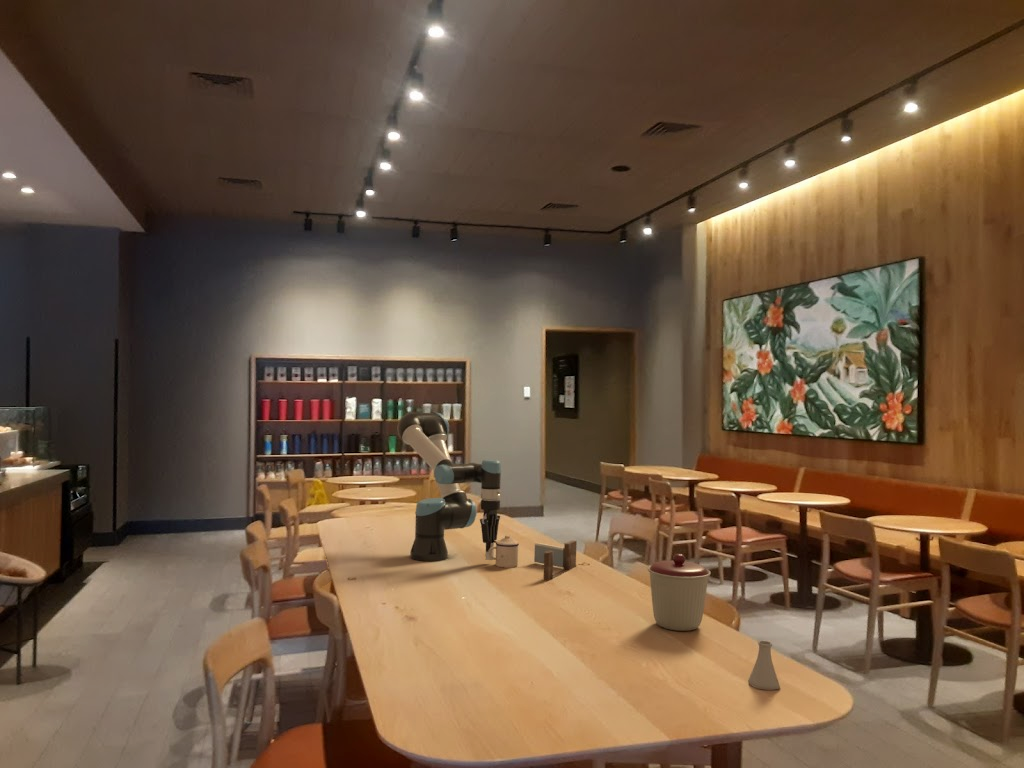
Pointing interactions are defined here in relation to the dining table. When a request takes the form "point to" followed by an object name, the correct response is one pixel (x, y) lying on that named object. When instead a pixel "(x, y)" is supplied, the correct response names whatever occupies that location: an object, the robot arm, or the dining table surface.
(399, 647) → the dining table surface
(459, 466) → the robot arm
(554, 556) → the gate
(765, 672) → the flask
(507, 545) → the teacup with lid
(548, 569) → the frame
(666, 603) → the canister
